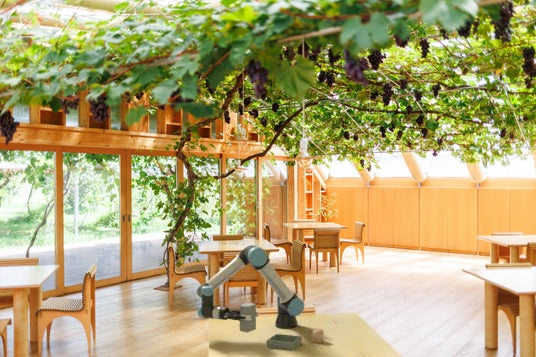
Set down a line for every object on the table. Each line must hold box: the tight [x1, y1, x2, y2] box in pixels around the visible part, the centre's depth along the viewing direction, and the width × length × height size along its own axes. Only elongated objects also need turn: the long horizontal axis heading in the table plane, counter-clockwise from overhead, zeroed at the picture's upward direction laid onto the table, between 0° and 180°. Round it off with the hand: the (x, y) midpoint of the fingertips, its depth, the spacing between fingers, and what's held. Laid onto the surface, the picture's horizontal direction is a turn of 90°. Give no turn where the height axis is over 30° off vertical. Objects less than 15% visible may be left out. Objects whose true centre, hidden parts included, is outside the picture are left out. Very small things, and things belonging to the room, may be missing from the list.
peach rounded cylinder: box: [312, 328, 325, 344], centre depth 306 cm, size 6×6×7 cm
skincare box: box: [239, 302, 257, 333], centre depth 303 cm, size 8×7×16 cm
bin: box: [266, 333, 303, 351], centre depth 301 cm, size 17×15×4 cm
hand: (254, 316), depth 301 cm, fingers closed on skincare box, 9 cm apart
